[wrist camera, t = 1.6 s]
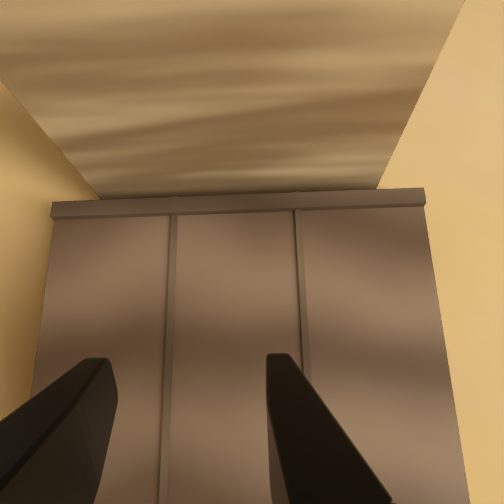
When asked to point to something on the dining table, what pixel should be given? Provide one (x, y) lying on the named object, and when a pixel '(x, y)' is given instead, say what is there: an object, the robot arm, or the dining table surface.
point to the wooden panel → (253, 336)
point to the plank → (222, 89)
